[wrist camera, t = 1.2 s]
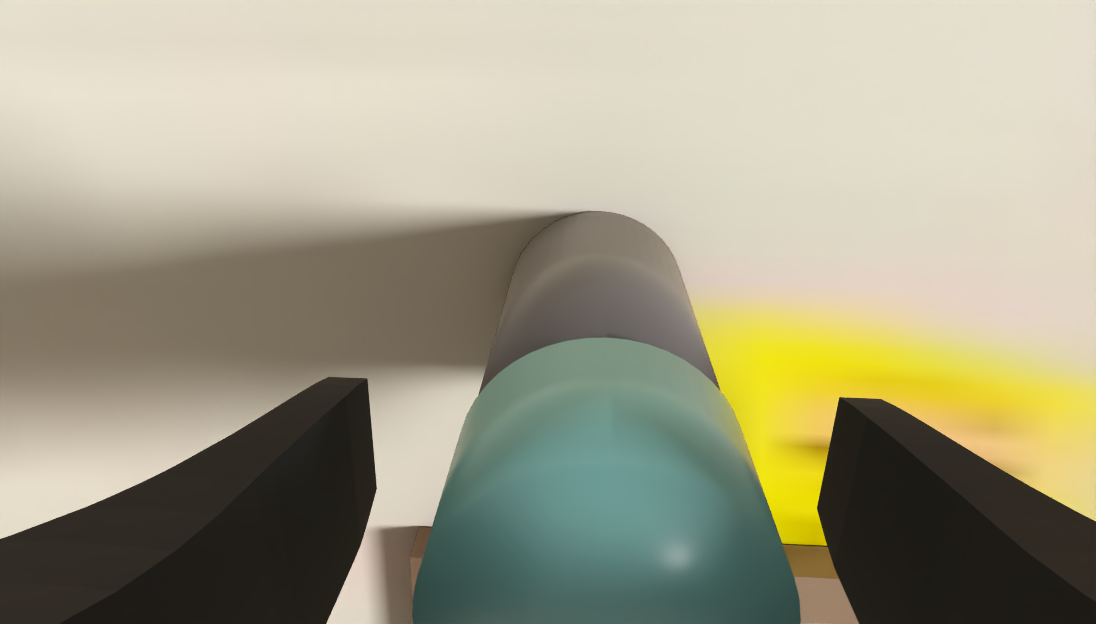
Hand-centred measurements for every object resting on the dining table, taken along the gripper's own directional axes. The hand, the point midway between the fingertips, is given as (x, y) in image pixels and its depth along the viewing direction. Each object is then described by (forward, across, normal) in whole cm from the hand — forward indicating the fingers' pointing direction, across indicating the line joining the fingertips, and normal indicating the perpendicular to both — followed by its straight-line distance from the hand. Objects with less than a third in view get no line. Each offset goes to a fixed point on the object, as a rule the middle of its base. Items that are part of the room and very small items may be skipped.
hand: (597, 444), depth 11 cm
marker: (+6, 0, 0) cm, 6 cm away
